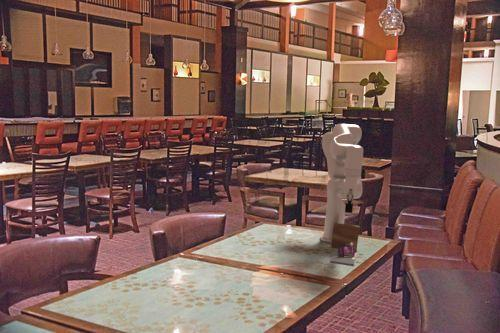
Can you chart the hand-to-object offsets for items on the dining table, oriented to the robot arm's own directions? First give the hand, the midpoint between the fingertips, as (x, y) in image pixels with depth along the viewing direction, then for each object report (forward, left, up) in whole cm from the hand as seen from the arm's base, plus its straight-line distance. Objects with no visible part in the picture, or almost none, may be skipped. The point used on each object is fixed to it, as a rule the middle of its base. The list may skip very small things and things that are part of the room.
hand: (348, 210), depth 232 cm
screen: (-11, 0, -21) cm, 24 cm away
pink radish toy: (+1, 0, -21) cm, 21 cm away
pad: (+9, 0, -21) cm, 23 cm away
